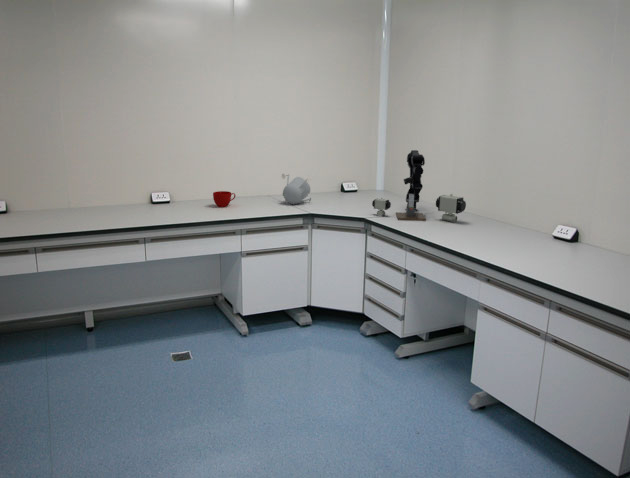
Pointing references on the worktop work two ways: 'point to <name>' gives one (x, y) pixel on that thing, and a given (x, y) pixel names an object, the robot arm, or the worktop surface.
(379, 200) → the pneumatic valve
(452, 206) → the ball valve
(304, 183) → the satellite
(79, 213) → the worktop surface
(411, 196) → the steel post
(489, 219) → the worktop surface
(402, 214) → the post stand
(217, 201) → the ceramic cup
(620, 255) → the worktop surface
